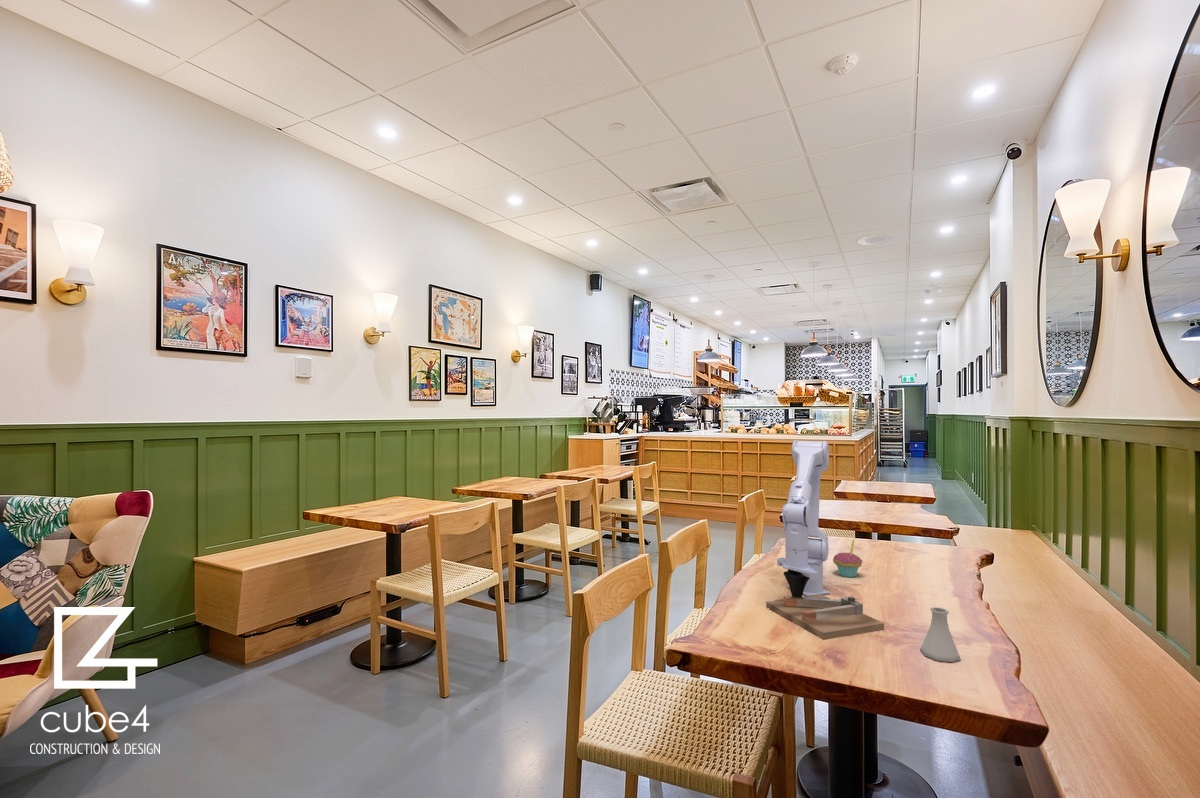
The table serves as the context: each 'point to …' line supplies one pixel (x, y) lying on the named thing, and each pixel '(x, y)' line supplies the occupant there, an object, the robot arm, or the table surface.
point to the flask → (939, 638)
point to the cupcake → (847, 563)
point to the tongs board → (829, 618)
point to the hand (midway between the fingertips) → (797, 599)
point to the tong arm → (811, 602)
